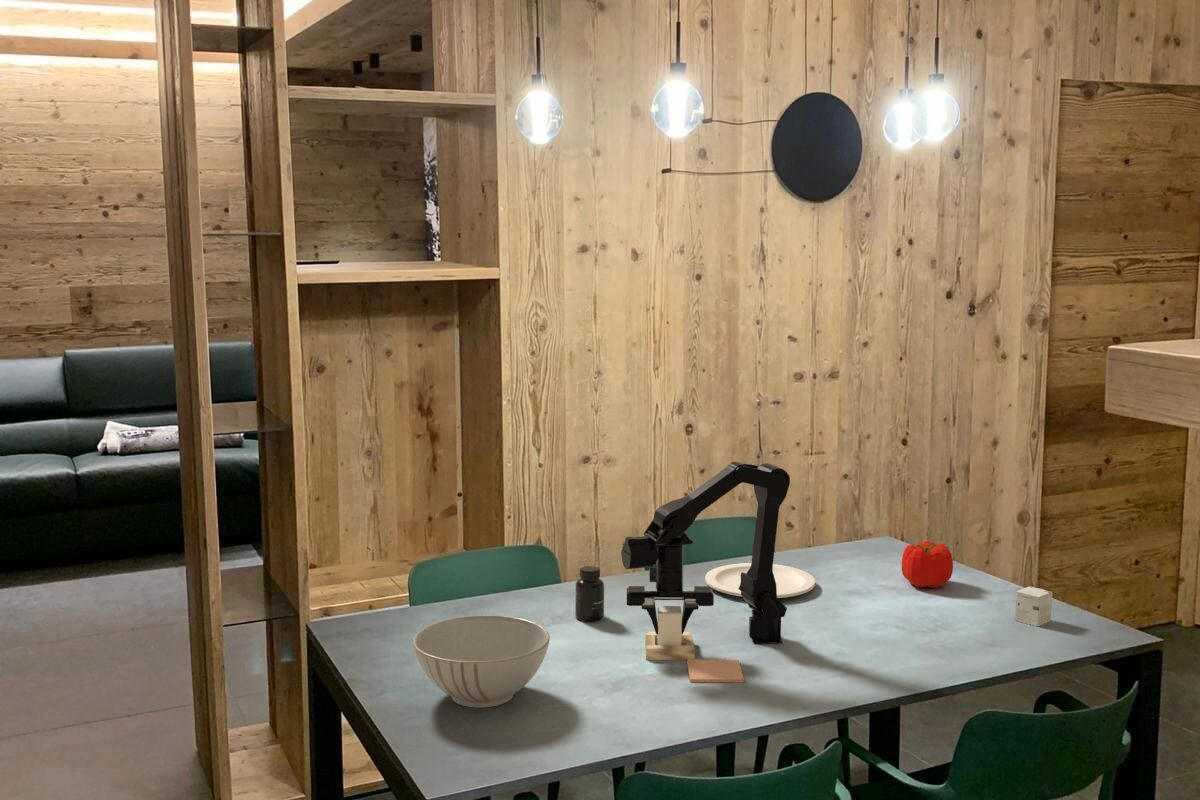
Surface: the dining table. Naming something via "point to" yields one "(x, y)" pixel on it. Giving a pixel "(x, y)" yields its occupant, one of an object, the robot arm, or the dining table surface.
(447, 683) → the decorative bowl
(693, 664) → the terracotta coaster
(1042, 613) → the skincare box
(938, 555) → the tomato
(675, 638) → the cream block
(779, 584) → the plate
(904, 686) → the dining table surface
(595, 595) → the supplement bottle
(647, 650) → the birch pocket holder
